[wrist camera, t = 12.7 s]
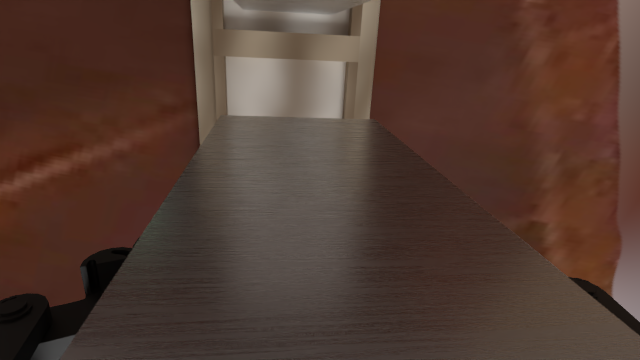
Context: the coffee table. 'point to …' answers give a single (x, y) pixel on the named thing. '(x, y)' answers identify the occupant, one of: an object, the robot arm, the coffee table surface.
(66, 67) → the coffee table surface
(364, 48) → the beige divided tray
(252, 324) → the block
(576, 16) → the coffee table surface
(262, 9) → the seated billet
